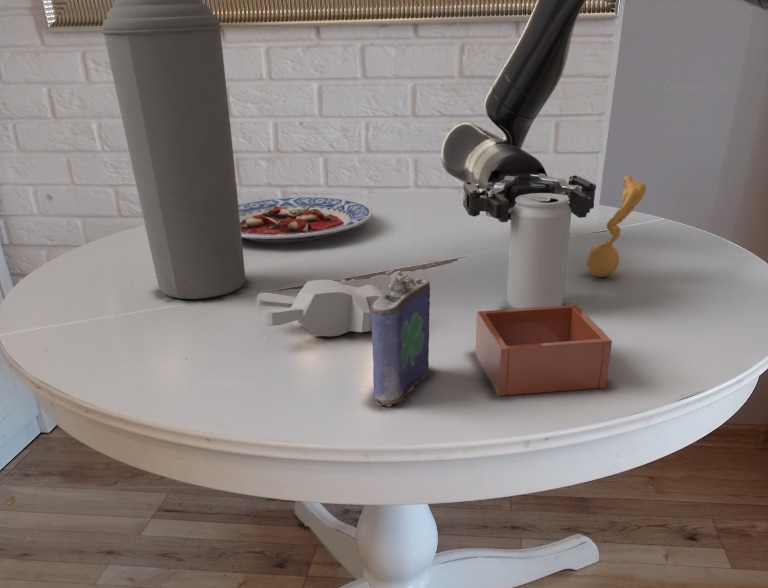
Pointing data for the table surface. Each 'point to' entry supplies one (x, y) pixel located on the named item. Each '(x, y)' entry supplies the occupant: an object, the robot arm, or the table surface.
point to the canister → (179, 141)
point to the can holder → (542, 350)
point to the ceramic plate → (299, 218)
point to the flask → (400, 337)
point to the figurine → (615, 231)
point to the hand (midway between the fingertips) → (545, 210)
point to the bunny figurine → (323, 307)
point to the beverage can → (538, 250)
